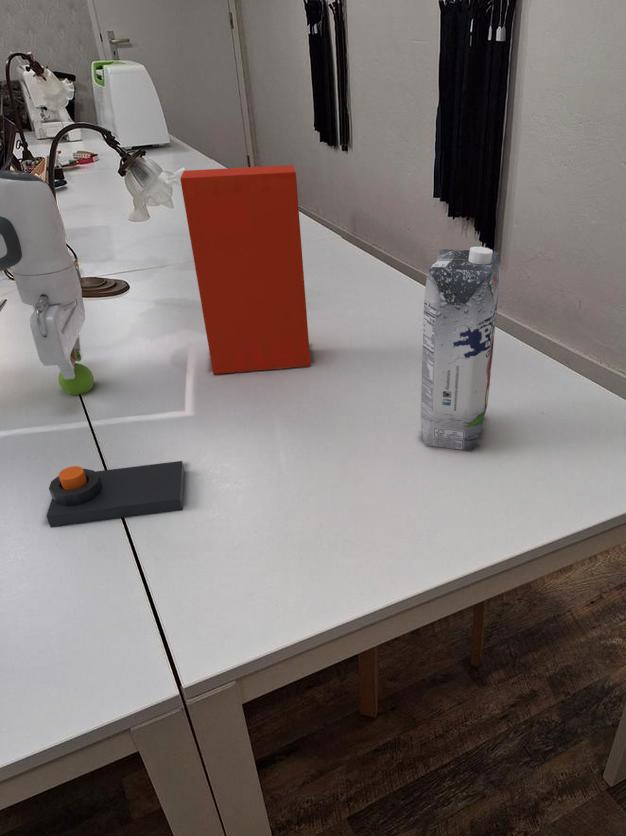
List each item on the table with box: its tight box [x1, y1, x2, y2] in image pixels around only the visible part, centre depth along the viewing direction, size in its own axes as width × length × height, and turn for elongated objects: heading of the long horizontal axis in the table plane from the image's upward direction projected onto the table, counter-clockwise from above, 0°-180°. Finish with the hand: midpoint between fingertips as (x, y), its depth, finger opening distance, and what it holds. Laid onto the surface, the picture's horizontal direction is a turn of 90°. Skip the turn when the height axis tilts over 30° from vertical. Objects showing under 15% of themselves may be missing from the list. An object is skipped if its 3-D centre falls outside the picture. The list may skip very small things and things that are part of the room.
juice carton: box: [420, 246, 500, 452], centre depth 89 cm, size 9×10×27 cm
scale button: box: [58, 465, 87, 490], centre depth 82 cm, size 3×3×2 cm
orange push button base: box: [46, 460, 186, 529], centre depth 84 cm, size 16×9×4 cm, turn 101°
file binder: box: [179, 164, 312, 375], centre depth 110 cm, size 8×17×32 cm, turn 99°
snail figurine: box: [58, 345, 95, 396], centre depth 107 cm, size 5×6×12 cm
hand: (74, 368), depth 108 cm, fingers closed on snail figurine, 6 cm apart
